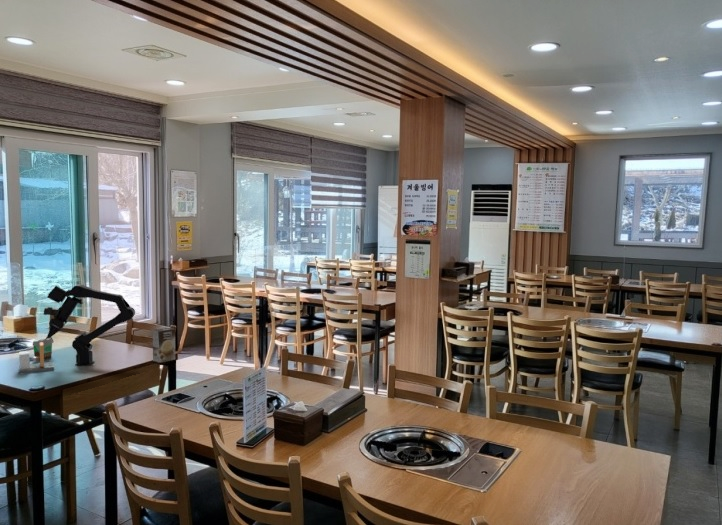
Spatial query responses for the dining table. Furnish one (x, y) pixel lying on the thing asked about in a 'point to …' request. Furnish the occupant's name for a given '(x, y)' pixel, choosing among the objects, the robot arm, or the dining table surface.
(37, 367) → the bearing base
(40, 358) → the tan trapezoid block
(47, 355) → the food container
